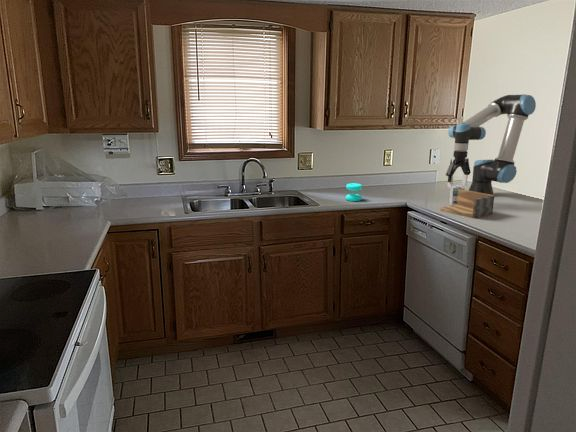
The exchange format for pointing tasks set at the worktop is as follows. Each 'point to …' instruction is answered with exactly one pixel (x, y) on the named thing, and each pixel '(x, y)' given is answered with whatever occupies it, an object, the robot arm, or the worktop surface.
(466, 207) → the shelf
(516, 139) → the robot arm
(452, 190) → the light bulb box
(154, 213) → the worktop surface
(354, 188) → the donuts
